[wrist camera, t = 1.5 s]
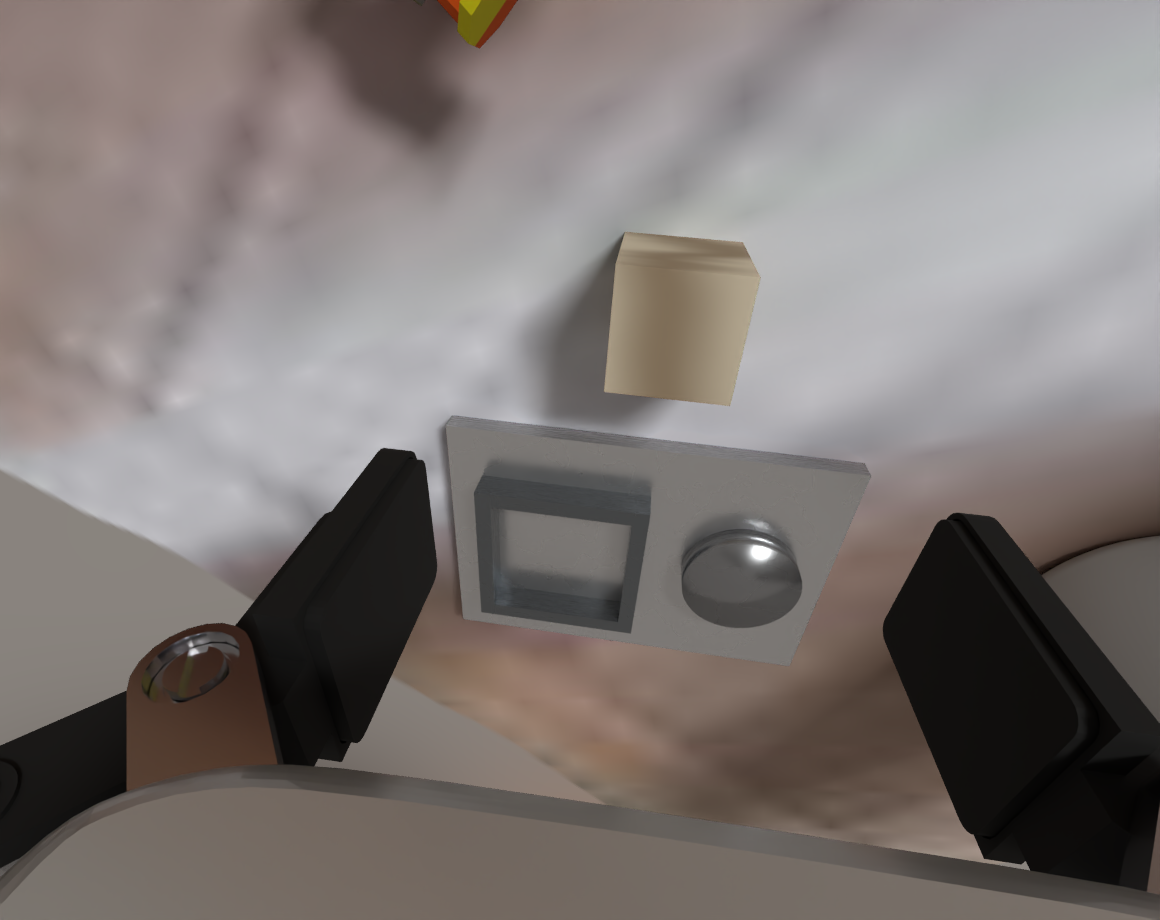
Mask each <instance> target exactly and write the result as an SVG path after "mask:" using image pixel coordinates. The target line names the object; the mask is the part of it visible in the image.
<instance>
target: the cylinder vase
mask: <svg viewBox="0 0 1160 920" xmlns="http://www.w3.org/2000/svg"><path fill="white" fill-rule="evenodd" d="M1041 576H1042V577H1043V578H1044V579H1045V581H1046V582H1047V583H1048V584H1049V586H1050V587H1051V588H1052V589H1053V591H1054V592H1055V593H1056V594H1057V596H1058V597H1059V598H1060V599H1061V601H1062V602H1063V603H1064V604H1065V606H1066V607H1067V608H1068V609H1069V611H1070V612H1071V613H1072V614H1073V616H1074V617H1075V618H1076V619H1077V621H1078V622H1079V623H1080V624H1081V626H1082V627H1083V628H1084V629H1085V631H1086V632H1087V633H1088V634H1089V636H1090V637H1091V638H1092V639H1093V641H1094V642H1095V643H1096V644H1097V646H1098V647H1099V648H1100V649H1101V651H1102V652H1103V653H1104V654H1105V656H1106V657H1107V658H1108V659H1109V661H1110V662H1111V663H1112V664H1113V666H1114V667H1115V668H1116V669H1117V671H1118V672H1119V673H1120V674H1121V676H1122V677H1123V678H1124V679H1125V681H1126V682H1127V683H1128V684H1129V686H1130V687H1131V688H1132V689H1133V691H1134V692H1135V693H1136V694H1137V696H1138V697H1139V698H1140V699H1141V701H1142V702H1143V703H1144V704H1145V706H1146V707H1147V708H1148V709H1149V711H1150V712H1151V713H1152V714H1153V716H1154V717H1155V718H1156V719H1157V721H1158V722H1159V723H1160V536H1152V537H1145V538H1138V539H1133V540H1128V541H1123V542H1119V543H1115V544H1111V545H1107V546H1104V547H1101V548H1098V549H1095V550H1092V551H1089V552H1086V553H1084V554H1081V555H1079V556H1076V557H1074V558H1072V559H1070V560H1068V561H1066V562H1064V563H1062V564H1060V565H1058V566H1056V567H1054V568H1052V569H1051V570H1049V571H1047V572H1046V573H1044V574H1043V575H1041Z"/></svg>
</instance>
